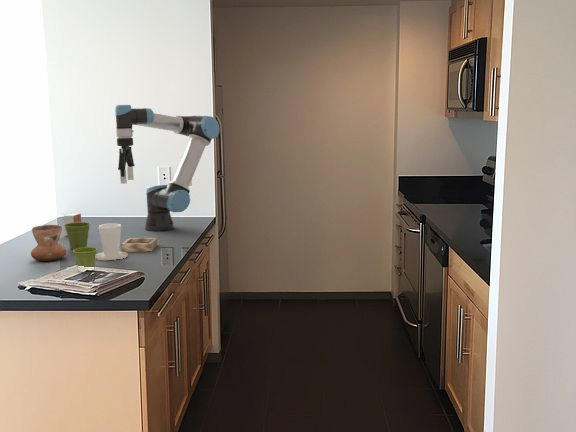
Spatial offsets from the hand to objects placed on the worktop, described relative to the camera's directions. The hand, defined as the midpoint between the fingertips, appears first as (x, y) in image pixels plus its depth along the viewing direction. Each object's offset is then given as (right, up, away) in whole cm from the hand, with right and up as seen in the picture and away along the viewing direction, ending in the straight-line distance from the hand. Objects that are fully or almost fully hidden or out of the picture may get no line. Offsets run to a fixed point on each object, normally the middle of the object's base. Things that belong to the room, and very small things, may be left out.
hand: (127, 181), depth 324 cm
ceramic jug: (-26, -35, -33) cm, 55 cm away
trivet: (0, -34, -31) cm, 46 cm away
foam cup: (+1, -34, -31) cm, 46 cm away
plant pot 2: (-4, -39, -54) cm, 66 cm away
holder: (+9, -32, -15) cm, 36 cm away
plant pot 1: (-19, -32, -13) cm, 39 cm away
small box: (-32, -26, +19) cm, 46 cm away
